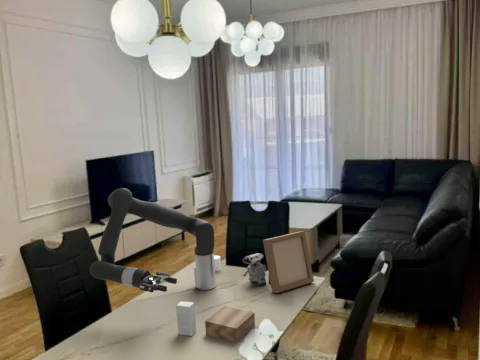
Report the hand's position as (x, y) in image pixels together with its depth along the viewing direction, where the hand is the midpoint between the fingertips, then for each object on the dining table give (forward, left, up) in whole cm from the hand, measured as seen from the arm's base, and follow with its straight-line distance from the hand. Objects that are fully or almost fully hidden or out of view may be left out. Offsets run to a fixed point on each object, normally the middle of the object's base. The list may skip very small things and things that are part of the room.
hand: (171, 285), depth 173 cm
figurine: (+11, +51, -18) cm, 56 cm away
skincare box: (+7, -2, -18) cm, 20 cm away
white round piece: (-18, +62, -18) cm, 67 cm away
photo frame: (+26, +56, -18) cm, 65 cm away
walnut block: (+22, +6, -18) cm, 29 cm away
